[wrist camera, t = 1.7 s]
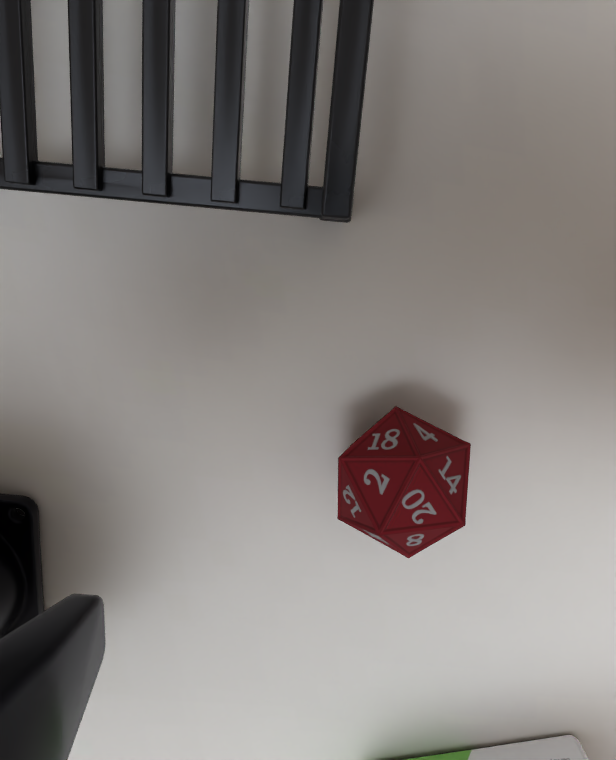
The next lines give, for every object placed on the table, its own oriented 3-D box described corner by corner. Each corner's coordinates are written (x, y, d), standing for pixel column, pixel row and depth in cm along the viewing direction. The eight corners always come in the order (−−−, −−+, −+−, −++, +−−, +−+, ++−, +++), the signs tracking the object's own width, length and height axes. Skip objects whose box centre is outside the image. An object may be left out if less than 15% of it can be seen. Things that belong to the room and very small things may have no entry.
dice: (484, 464, 18) (524, 531, 15) (367, 529, 19) (375, 609, 15) (425, 370, 18) (451, 415, 14) (305, 442, 18) (298, 503, 15)
